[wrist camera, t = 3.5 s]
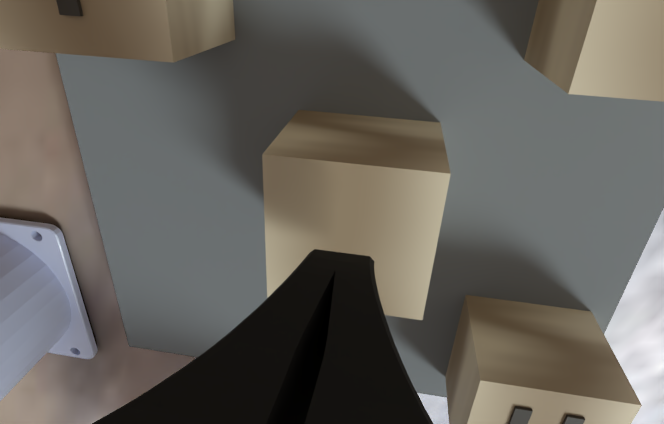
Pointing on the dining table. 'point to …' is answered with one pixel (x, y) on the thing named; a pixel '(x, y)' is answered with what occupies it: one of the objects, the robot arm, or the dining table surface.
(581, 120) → the mat
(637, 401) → the block four
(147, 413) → the robot arm
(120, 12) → the tan cube
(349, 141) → the plain block
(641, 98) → the block seven
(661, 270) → the dining table surface
